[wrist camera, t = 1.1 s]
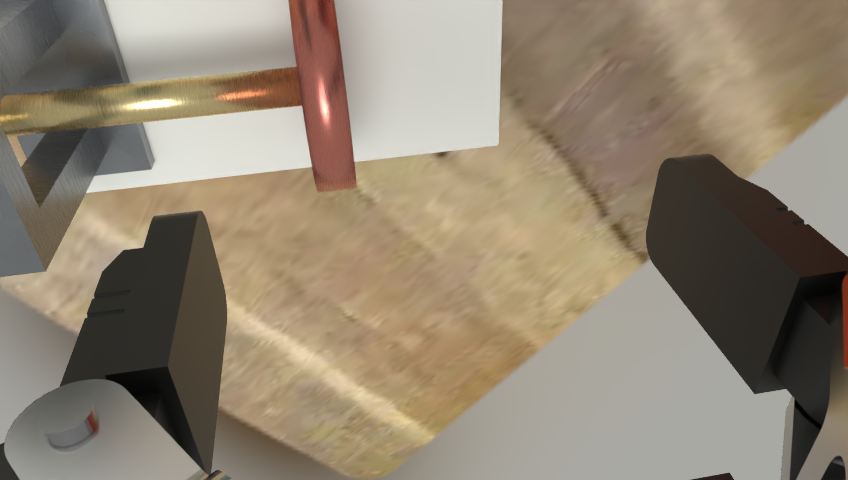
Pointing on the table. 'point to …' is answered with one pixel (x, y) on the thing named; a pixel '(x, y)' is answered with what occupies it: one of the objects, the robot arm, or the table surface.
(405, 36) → the base board
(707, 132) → the table surface
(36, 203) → the grey square frame
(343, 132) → the copper disc with handle
